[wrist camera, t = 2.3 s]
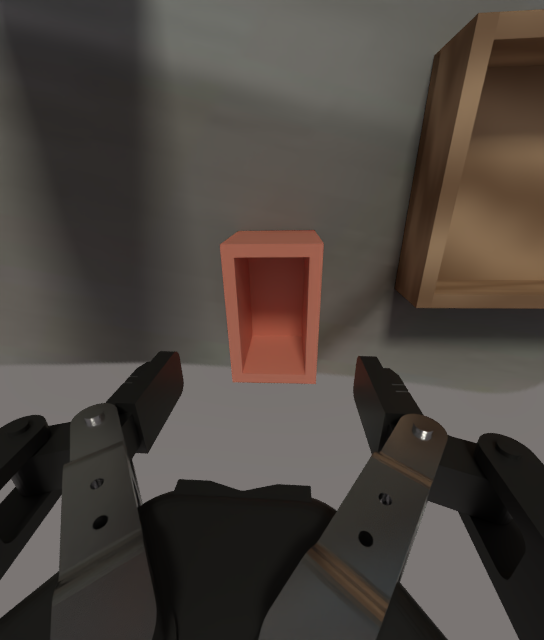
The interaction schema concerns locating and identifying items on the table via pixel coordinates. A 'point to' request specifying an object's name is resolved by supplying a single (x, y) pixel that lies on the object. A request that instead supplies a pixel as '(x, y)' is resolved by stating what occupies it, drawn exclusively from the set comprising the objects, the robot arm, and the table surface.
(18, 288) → the table surface
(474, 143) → the wooden crate
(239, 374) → the red open box
